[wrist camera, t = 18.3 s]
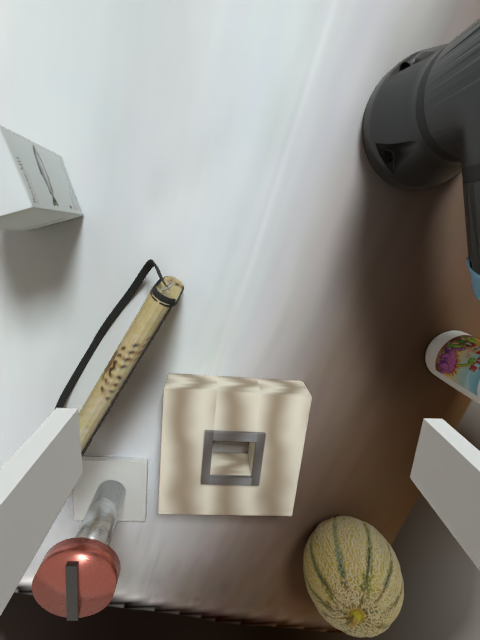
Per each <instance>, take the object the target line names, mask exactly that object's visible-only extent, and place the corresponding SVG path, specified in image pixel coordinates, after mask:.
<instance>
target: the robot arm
mask: <svg viewBox="0 0 480 640" xmlns="http://www.w3.org/2000/svg"><path fill="white" fill-rule="evenodd" d="M363 142H364V148H365V151H366V154H367V157H368V159H369V161H370V163H371V165H372V167H373V168H374V170H375V171H376V172H377V173H378V174H379V175H380V176H381V177H382V178H383V179H384V180H385V181H387V182H388V183H390V184H392V185H394V186H397V187H399V188H403V189H423V188H428V187H433V186H436V185H439V184H442V183H444V182H447V181H449V180H451V179H452V178H454V177H455V176H457V175H458V174H460V173H461V172H462V178H463V195H464V208H465V221H466V233H467V246H468V257H467V267H468V269H469V270H470V274H471V281H472V288H473V292H474V294H475V296H476V298H477V299H478V300H480V18H479V19H478V20H477V21H476V22H475V23H473V24H472V25H471V26H470V27H468V28H467V29H466V30H465V31H463V32H462V33H461V34H460V35H459V36H457V37H456V38H455V39H454V40H453V41H451V42H450V43H448V44H444V45H440V46H436V47H432V48H429V49H425V50H421V51H419V52H416V53H414V54H412V55H410V56H409V57H407V58H405V59H404V60H402V61H401V62H400V63H398V64H397V65H396V66H395V67H394V68H393V69H392V70H391V71H389V72H388V73H387V74H386V75H385V76H384V77H383V78H382V80H381V81H380V82H379V83H378V85H377V86H376V88H375V89H374V91H373V93H372V95H371V97H370V99H369V101H368V104H367V107H366V110H365V114H364V120H363ZM82 473H83V468H82V455H81V441H80V428H79V415H78V408H56V409H55V410H54V411H53V412H52V413H51V414H50V415H49V416H48V418H47V419H46V420H45V421H44V422H43V423H42V424H41V425H40V426H39V427H38V428H37V429H36V430H35V432H34V433H33V434H32V435H31V436H30V437H29V438H28V439H27V440H26V441H25V442H24V443H23V445H22V446H21V447H20V448H19V449H18V450H17V451H16V452H15V453H14V454H13V455H12V456H11V457H10V459H9V460H8V461H7V462H6V463H5V464H4V465H3V466H2V467H1V468H0V615H1V614H2V612H3V610H4V608H5V607H6V605H7V603H8V601H9V600H10V598H11V596H12V594H13V593H14V591H15V589H16V588H17V586H18V584H19V582H20V581H21V579H22V577H23V575H24V574H25V572H26V570H27V568H28V567H29V565H30V563H31V561H32V560H33V558H34V556H35V554H36V553H37V551H38V549H39V547H40V546H41V544H42V542H43V541H44V539H45V537H46V535H47V534H48V532H49V530H50V528H51V527H52V525H53V523H54V521H55V520H56V518H57V516H58V514H59V513H60V511H61V509H62V507H63V506H64V504H65V502H66V500H67V499H68V497H69V495H70V493H71V492H72V490H73V488H74V487H75V485H76V483H77V481H78V480H79V478H80V476H81V474H82ZM410 478H411V480H412V481H413V482H414V484H415V485H416V486H417V488H418V489H419V490H420V492H421V493H422V494H423V496H424V497H425V498H426V499H427V501H428V502H429V504H430V505H431V506H432V508H433V509H434V510H435V512H436V513H437V515H438V516H439V517H440V518H441V520H442V521H443V522H444V524H445V525H446V527H447V528H448V529H449V531H450V532H451V533H452V535H453V536H454V537H455V539H456V540H457V541H458V543H459V544H460V545H461V546H462V547H463V549H464V550H465V552H466V553H467V554H468V556H469V557H470V558H471V560H472V561H473V563H474V564H475V565H476V567H477V568H478V569H479V571H480V451H479V450H478V449H476V448H475V447H474V446H473V445H472V444H471V443H470V442H468V441H467V440H466V439H465V438H464V437H463V436H462V435H460V434H459V433H458V432H457V431H456V430H455V429H454V428H452V427H451V426H450V425H449V424H448V423H447V422H445V421H444V420H443V419H431V418H424V419H423V423H422V427H421V432H420V436H419V440H418V445H417V449H416V453H415V457H414V462H413V466H412V470H411V475H410Z"/></svg>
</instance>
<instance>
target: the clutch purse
mask: <svg viewBox="0 0 480 640" xmlns="http://www.w3.org/2000/svg"><path fill="white" fill-rule="evenodd" d="M154 266H155V268H156V271H157V273H158V275H159V277H160V279H159V280H158V281H157V283H156V284H155V285H154V286H153V288H152V290H151V292H150V294H149V295H148V297H147V299H146V301H145V302H144V304H143V306H142V307H141V309H140V311H139V312H138V314H137V316H136V317H135V319H134V321H133V323H132V324H131V326H130V328H129V329H128V331H127V333H126V334H125V336H124V338H123V340H122V341H121V343H120V345H119V346H118V348H117V350H116V351H115V353H114V355H113V356H112V358H111V360H110V362H109V363H108V365H107V367H106V368H105V370H104V372H103V373H102V375H101V377H100V379H99V380H98V382H97V384H96V385H95V387H94V389H93V390H92V392H91V394H90V395H89V397H88V399H87V401H86V402H85V404H84V406H83V407H82V409H81V411H80V412H79V414H78V415H79V428H80V441H81V455H82V456H83V454H84V453H85V451H86V449H87V448H88V446H89V444H90V443H91V441H92V439H93V437H94V435H95V433H96V432H97V430H98V428H99V427H100V425H101V424H102V422H103V420H104V419H105V417H106V415H107V414H108V412H109V410H110V409H111V407H112V406H113V404H114V402H115V401H116V399H117V397H118V396H119V394H120V392H121V391H122V389H123V387H124V386H125V384H126V383H127V381H128V379H129V378H130V376H131V374H132V373H133V371H134V369H135V368H136V366H137V365H138V363H139V361H140V360H141V358H142V356H143V355H144V353H145V351H146V350H147V348H148V346H149V345H150V343H151V342H152V340H153V338H154V337H155V335H156V333H157V332H158V330H159V328H160V327H161V325H162V323H163V322H164V320H165V319H166V317H167V315H168V314H169V312H170V310H171V309H172V307H173V306H175V305H176V304H177V302H178V300H179V298H180V295H181V294H182V292H183V290H184V286H183V284H182V283H181V282H180V281H179V280H178V279H176V278H174V277H172V276H166V277H164V278H163V277H162V275H161V272H160V270H159V268H158V267H157V265H156V264H155V263H154V261H153V260H151V259H150V260H148V261H147V262H146V264H145V265H144V266H143V268H142V270H141V271H140V273H139V274H138V276H137V277H136V279H135V280H134V282H133V283H132V285H131V286H130V288H129V289H128V291H127V292H126V293H125V295H124V296H123V297H122V299H121V300H120V301H119V303H118V304H117V305H116V307H115V308H114V309H113V311H112V312H111V313H110V315H109V316H108V318H107V319H106V320H105V322H104V323H103V325H102V326H101V328H100V329H99V331H98V333H97V334H96V336H95V338H94V340H93V341H92V343H91V345H90V347H89V348H88V350H87V352H86V353H85V355H84V357H83V358H82V360H81V361H80V363H79V365H78V367H77V368H76V370H75V372H74V373H73V375H72V377H71V378H70V380H69V382H68V384H67V385H66V387H65V389H64V391H63V392H62V394H61V396H60V398H59V400H58V403H57V405H56V407H55V409H56V408H63V406H64V403H65V401H66V399H67V397H68V395H69V393H70V392H71V390H72V388H73V386H74V385H75V383H76V381H77V380H78V378H79V376H80V374H81V373H82V371H83V369H84V368H85V366H86V364H87V363H88V361H89V359H90V358H91V356H92V354H93V353H94V351H95V349H96V348H97V346H98V344H99V343H100V341H101V339H102V338H103V336H104V334H105V333H106V331H107V330H108V328H109V327H110V325H111V324H112V322H113V321H114V320H115V318H116V317H117V316H118V314H119V313H120V312H121V310H122V309H123V308H124V306H125V305H126V304H127V302H128V301H129V300H130V298H131V297H132V296H133V294H134V293H135V292H136V290H137V289H138V287H139V286H140V284H141V283H142V281H143V280H144V278H145V277H146V275H147V274H148V272H149V271H150V270H151V268H153V267H154Z"/></svg>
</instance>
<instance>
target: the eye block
mask: <svg viewBox="0 0 480 640" xmlns="http://www.w3.org/2000/svg"><path fill="white" fill-rule="evenodd" d="M311 399H312V396H311V395H310V393H309V391H308V389H307V388H306V386H305V384H304V383H303V381H293V380H276V379H259V378H242V377H224V376H207V375H190V374H173V373H169V374H168V377H167V380H166V384H165V387H164V396H163V418H162V441H161V463H160V485H159V508H158V514H201V515H263V516H292V513H293V507H294V501H295V495H296V489H297V483H298V477H299V471H300V465H301V459H302V453H303V447H304V441H305V435H306V429H307V423H308V417H309V411H310V405H311ZM213 440H215V441H241V442H249V448H248V453H220V452H212V447H213Z"/></svg>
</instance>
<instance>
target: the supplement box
mask: <svg viewBox="0 0 480 640" xmlns="http://www.w3.org/2000/svg"><path fill="white" fill-rule="evenodd" d="M81 216H83V213H82V210H81V208H80V206H79V203H78V201H77V198H76V196H75V193H74V191H73V188H72V185H71V183H70V180H69V177H68V174H67V171H66V168H65V165H64V162H63V159H62V157H61V156H60V155H58V154H56V153H54V152H52V151H50V150H48V149H46V148H44V147H42V146H40V145H38V144H36V143H34V142H32V141H30V140H28V139H26V138H24V137H23V136H21V135H19V134H17V133H15V132H13V131H11V130H9V129H7V128H5V127H3V126H1V125H0V230H32V229H36V228H40V227H43V226H47V225H51V224H55V223H59V222H62V221H66V220H70V219H74V218H77V217H81Z"/></svg>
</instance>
